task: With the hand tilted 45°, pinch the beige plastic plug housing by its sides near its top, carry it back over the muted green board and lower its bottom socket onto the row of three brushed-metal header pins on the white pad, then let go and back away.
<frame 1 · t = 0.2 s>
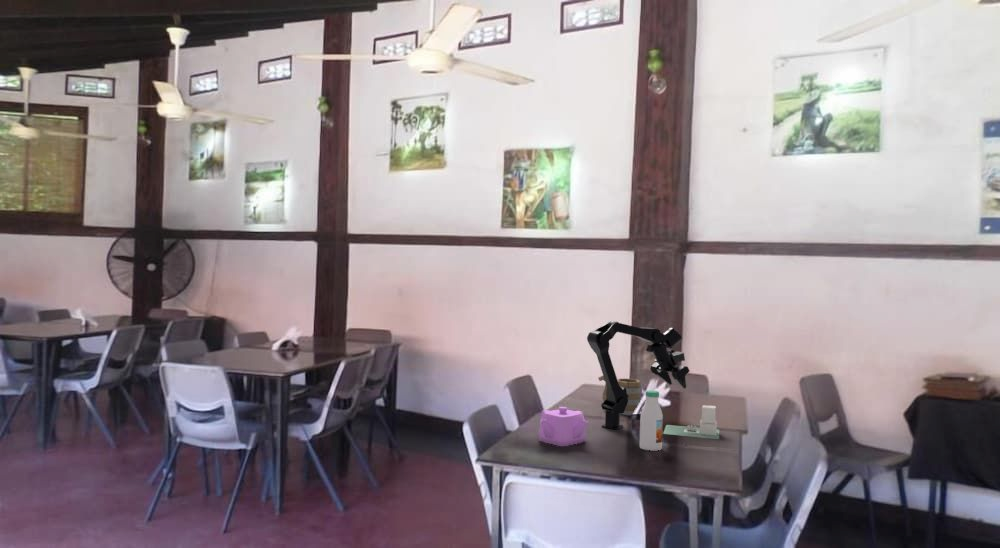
hand: (677, 386, 285), 15 cm above the table, tool tilted 35°, fingers open, 9 cm apart
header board: (691, 434, 263), on the table
tankard: (619, 411, 304), on the table
plug housing: (708, 433, 261), point 1 cm above the table, touching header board
pink lidded box: (562, 442, 248), on the table
milk bottle: (650, 449, 241), on the table
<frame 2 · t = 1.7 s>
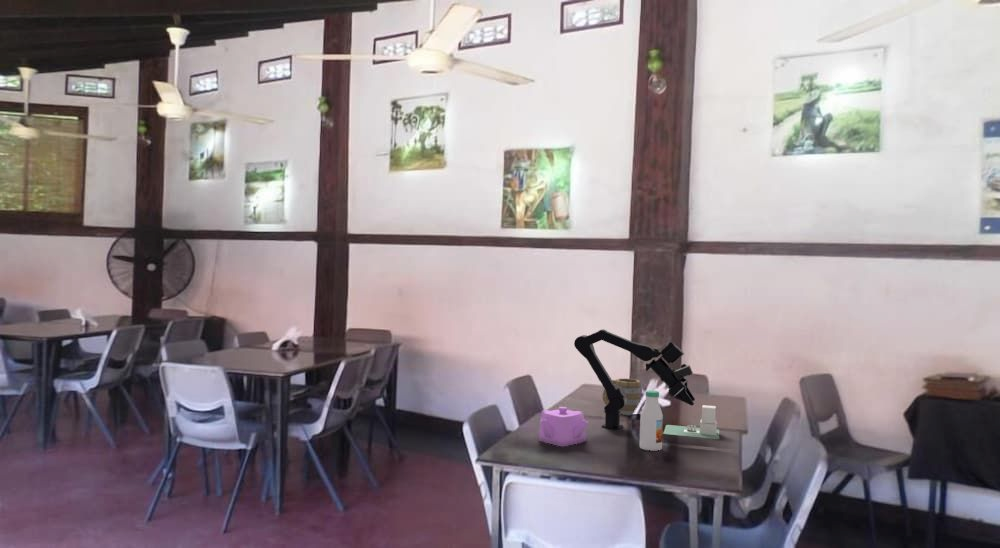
hand: (693, 402, 263), 12 cm above the table, tool tilted 45°, fingers open, 9 cm apart
nothing on the table moved.
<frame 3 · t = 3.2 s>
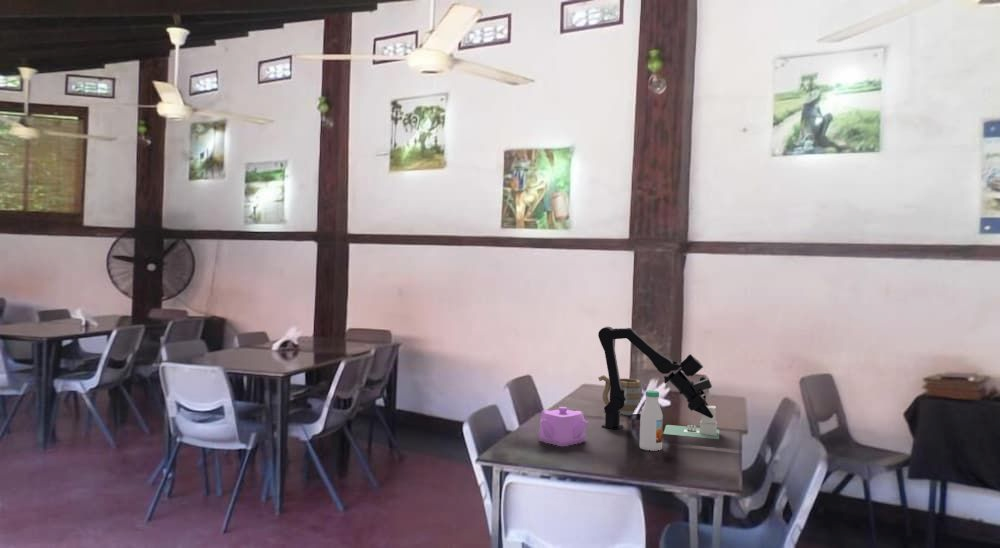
hand: (712, 416, 261), 8 cm above the table, tool tilted 45°, fingers closed on plug housing, 5 cm apart
plug housing: (708, 433, 261), point 1 cm above the table, touching gripper, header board
everything else where it was.
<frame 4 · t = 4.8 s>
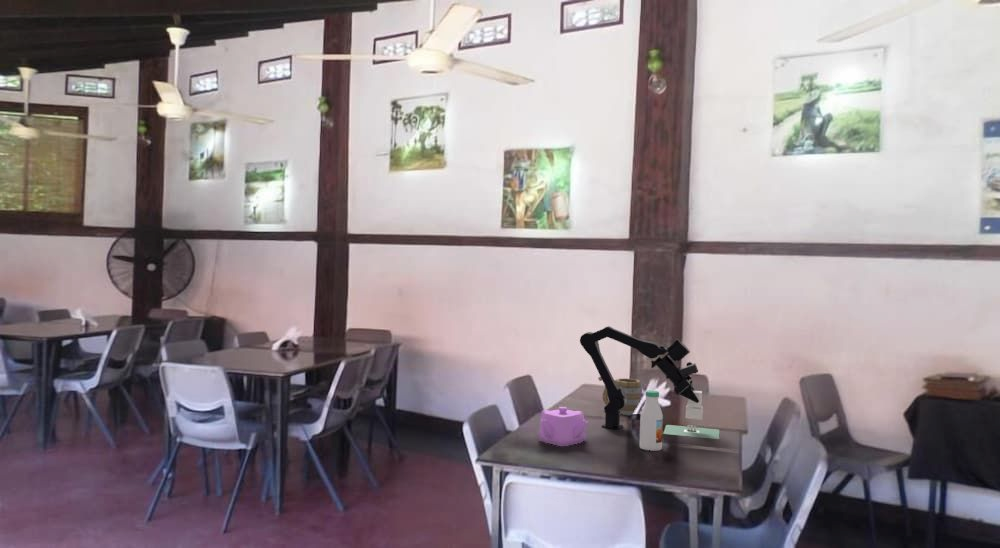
hand: (698, 400, 262), 13 cm above the table, tool tilted 45°, fingers closed on plug housing, 5 cm apart
plug housing: (694, 417, 263), point 7 cm above the table, touching gripper
everything else where it was.
when the fingers open (9 cm above the table, at t = 6.4 s): plug housing stays where it is, resting on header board.
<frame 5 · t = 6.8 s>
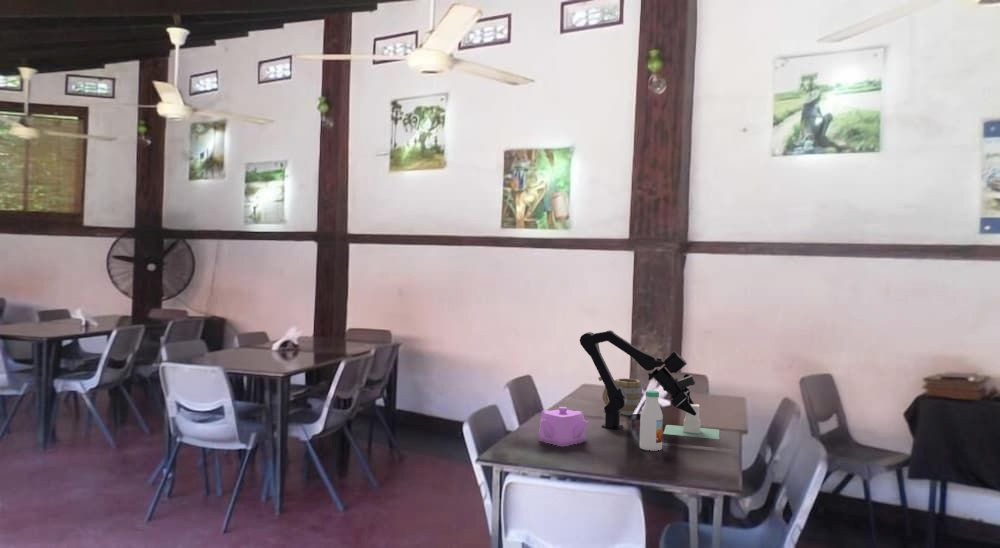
hand: (696, 412, 263), 9 cm above the table, tool tilted 45°, fingers open, 8 cm apart
plug housing: (691, 431, 263), point 1 cm above the table, touching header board
everything else where it was.
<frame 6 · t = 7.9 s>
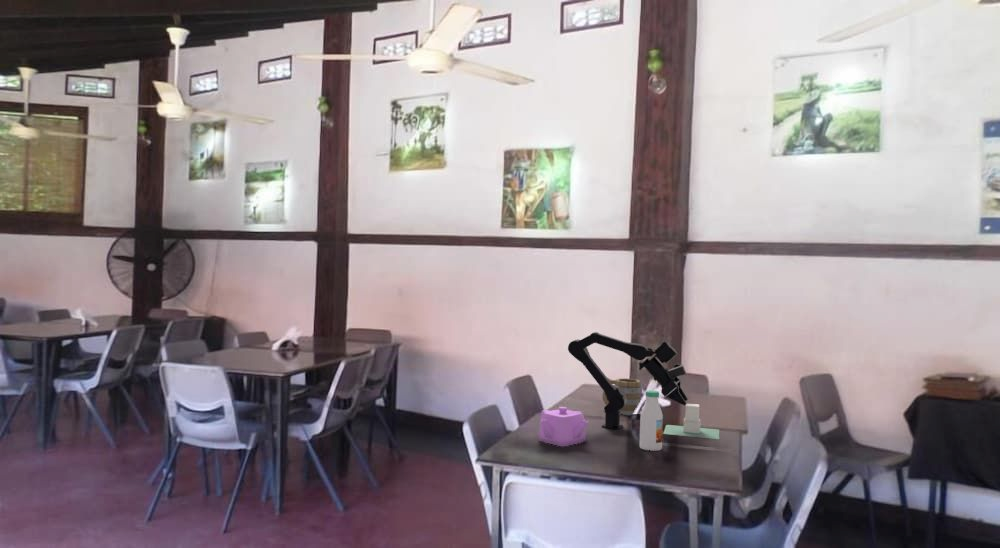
hand: (686, 402, 264), 12 cm above the table, tool tilted 45°, fingers open, 9 cm apart
nothing on the table moved.
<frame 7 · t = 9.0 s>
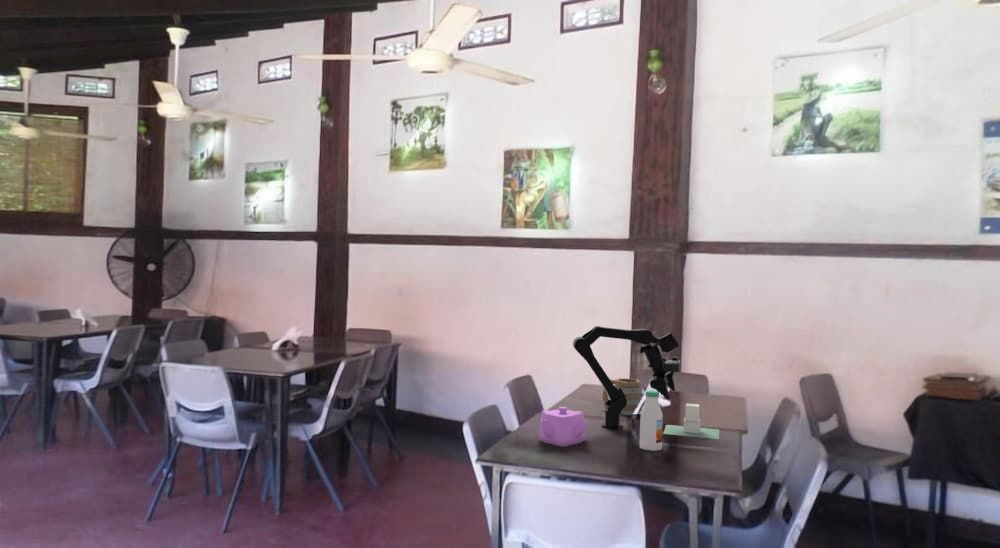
hand: (671, 394, 272), 13 cm above the table, tool tilted 25°, fingers open, 9 cm apart
nothing on the table moved.
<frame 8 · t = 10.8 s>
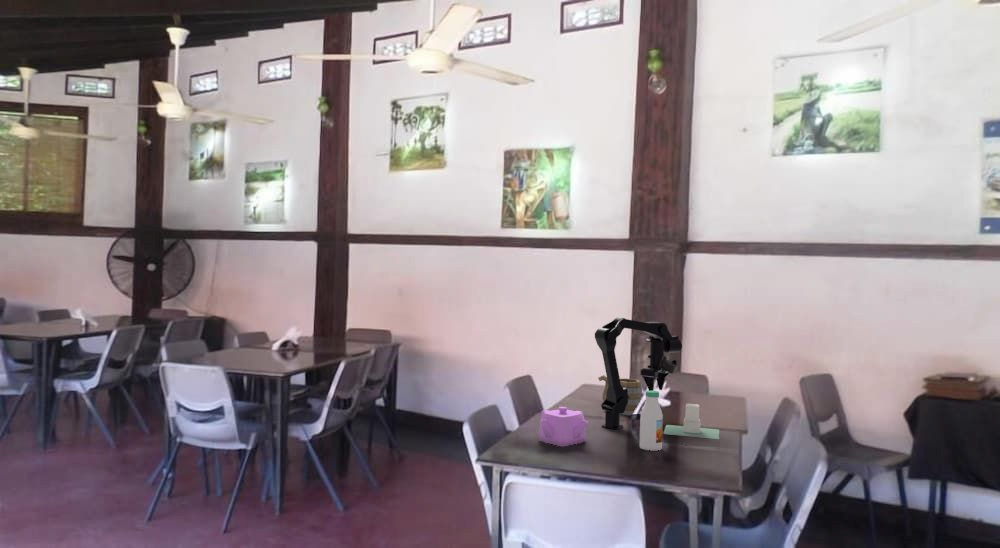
hand: (656, 391, 281), 13 cm above the table, tool pointing down, fingers open, 9 cm apart
nothing on the table moved.
at the end: plug housing 0.0 cm off-centre on the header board, point 1.3 cm above the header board's base; plug housing tilted 0°; the gripper is holding nothing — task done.
